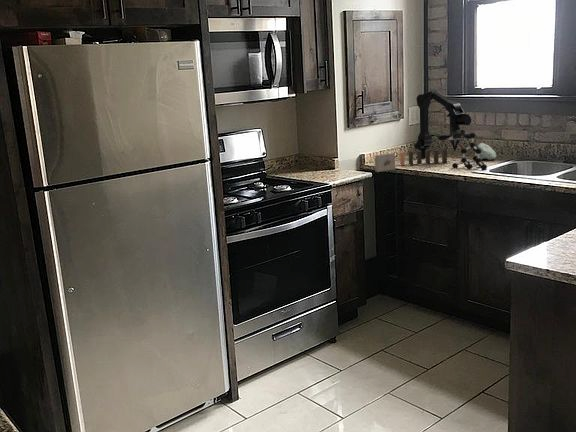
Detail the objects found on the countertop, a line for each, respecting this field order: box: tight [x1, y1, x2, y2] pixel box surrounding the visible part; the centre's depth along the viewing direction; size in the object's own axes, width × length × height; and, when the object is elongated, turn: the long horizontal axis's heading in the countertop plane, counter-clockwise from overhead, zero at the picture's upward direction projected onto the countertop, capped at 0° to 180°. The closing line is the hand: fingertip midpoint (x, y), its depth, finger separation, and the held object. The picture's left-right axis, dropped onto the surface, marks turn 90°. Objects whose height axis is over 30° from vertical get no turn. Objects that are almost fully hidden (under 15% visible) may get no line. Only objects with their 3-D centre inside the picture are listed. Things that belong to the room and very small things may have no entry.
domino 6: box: [441, 148, 448, 164], centre depth 374 cm, size 2×5×8 cm, turn 179°
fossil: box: [374, 152, 396, 173], centre depth 362 cm, size 12×4×10 cm, turn 116°
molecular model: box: [451, 132, 488, 171], centre depth 354 cm, size 18×20×20 cm
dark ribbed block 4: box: [416, 149, 423, 165], centre depth 375 cm, size 2×5×8 cm, turn 179°
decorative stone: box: [476, 142, 497, 161], centre depth 377 cm, size 13×11×10 cm
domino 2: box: [408, 150, 414, 166], centre depth 375 cm, size 2×5×8 cm, turn 179°
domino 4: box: [424, 149, 431, 165], centre depth 375 cm, size 2×5×8 cm, turn 179°
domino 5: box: [433, 149, 439, 165], centre depth 375 cm, size 2×5×8 cm, turn 179°
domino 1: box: [399, 150, 406, 166], centre depth 375 cm, size 2×5×8 cm, turn 179°
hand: (454, 150), depth 374 cm, fingers closed
